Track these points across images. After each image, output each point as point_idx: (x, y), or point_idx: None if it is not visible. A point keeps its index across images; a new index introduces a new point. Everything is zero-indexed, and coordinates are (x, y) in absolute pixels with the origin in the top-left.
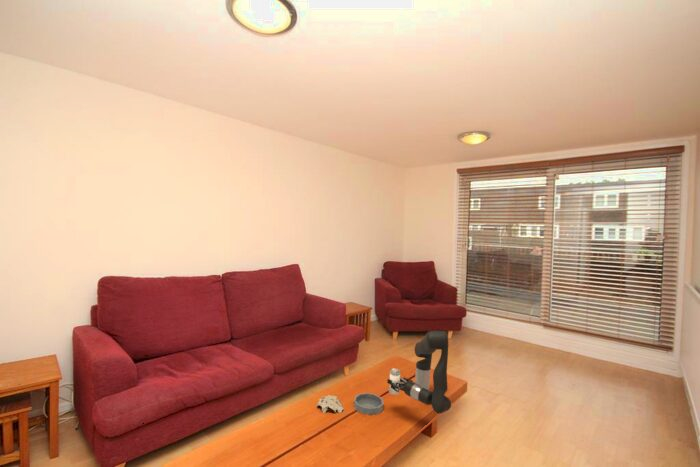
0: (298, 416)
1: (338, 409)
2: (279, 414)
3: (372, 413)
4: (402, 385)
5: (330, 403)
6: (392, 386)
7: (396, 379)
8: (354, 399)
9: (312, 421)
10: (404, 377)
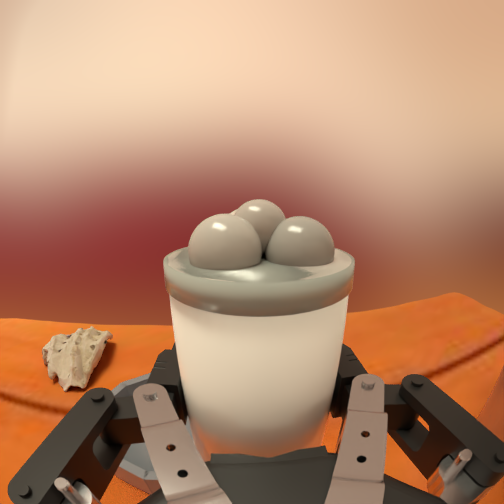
0: (16, 338)
1: (61, 376)
2: (16, 320)
3: (118, 475)
4: None
5: (62, 348)
6: (100, 436)
7: (207, 382)
8: (131, 379)
9: (4, 360)
10: (423, 376)
